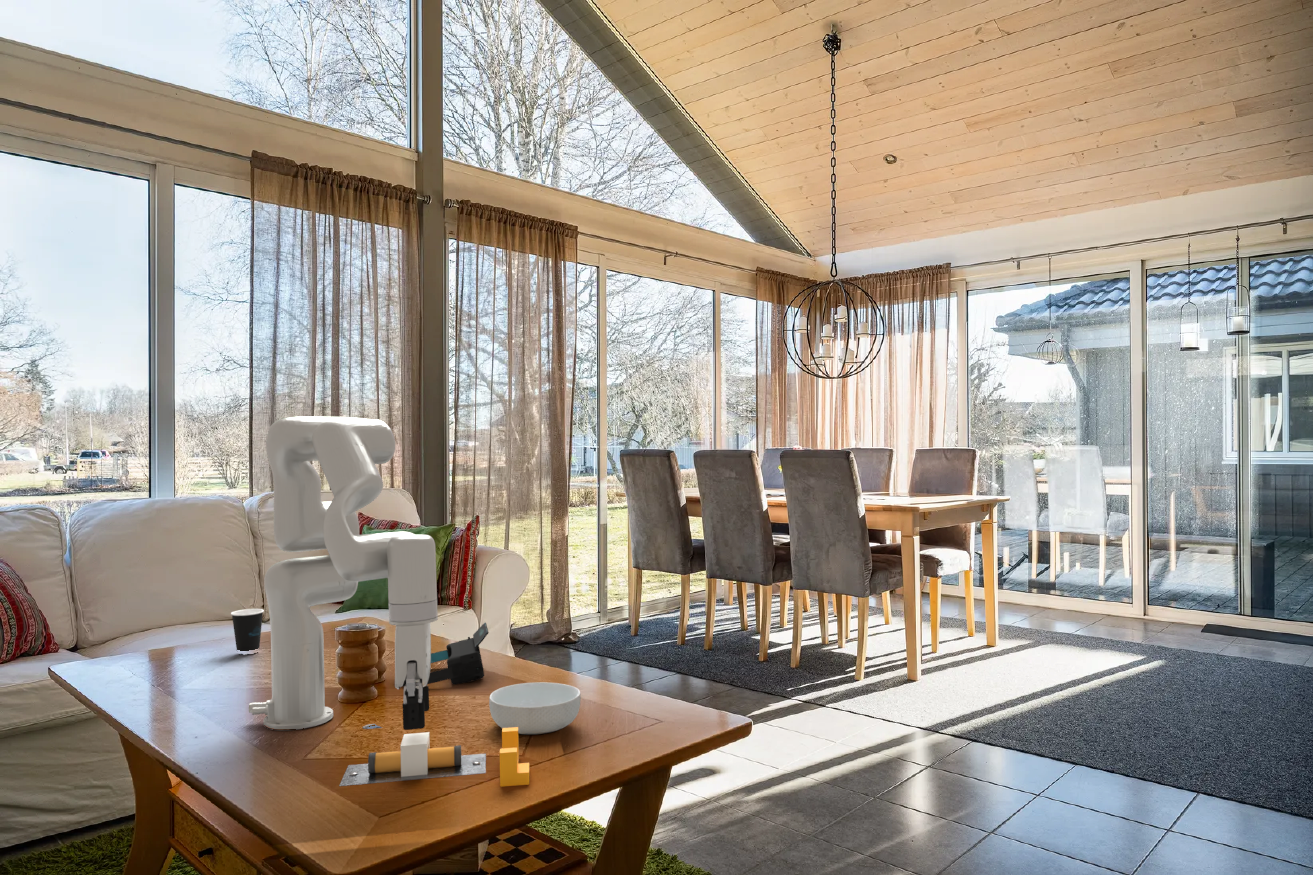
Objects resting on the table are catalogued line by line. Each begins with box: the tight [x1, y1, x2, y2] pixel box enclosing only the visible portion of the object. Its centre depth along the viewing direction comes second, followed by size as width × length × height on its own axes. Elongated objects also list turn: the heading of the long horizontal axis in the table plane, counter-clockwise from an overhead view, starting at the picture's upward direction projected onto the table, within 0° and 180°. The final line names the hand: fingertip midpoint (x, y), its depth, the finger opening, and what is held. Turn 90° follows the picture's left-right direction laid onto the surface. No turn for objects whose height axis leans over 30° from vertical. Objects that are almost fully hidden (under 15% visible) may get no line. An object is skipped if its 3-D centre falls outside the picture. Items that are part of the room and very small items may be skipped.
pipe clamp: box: [499, 727, 530, 788], centre depth 139 cm, size 12×4×6 cm, turn 8°
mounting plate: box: [339, 753, 487, 787], centre depth 141 cm, size 22×9×1 cm, turn 101°
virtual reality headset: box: [402, 621, 490, 687], centre depth 203 cm, size 19×22×10 cm
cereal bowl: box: [488, 681, 582, 735], centre depth 162 cm, size 17×17×7 cm
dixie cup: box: [230, 608, 265, 651], centre depth 232 cm, size 8×8×11 cm
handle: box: [367, 744, 462, 774], centre depth 141 cm, size 14×3×3 cm, turn 101°
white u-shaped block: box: [400, 731, 431, 777], centre depth 141 cm, size 4×6×5 cm
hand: (416, 719), depth 140 cm, fingers open, 9 cm apart
